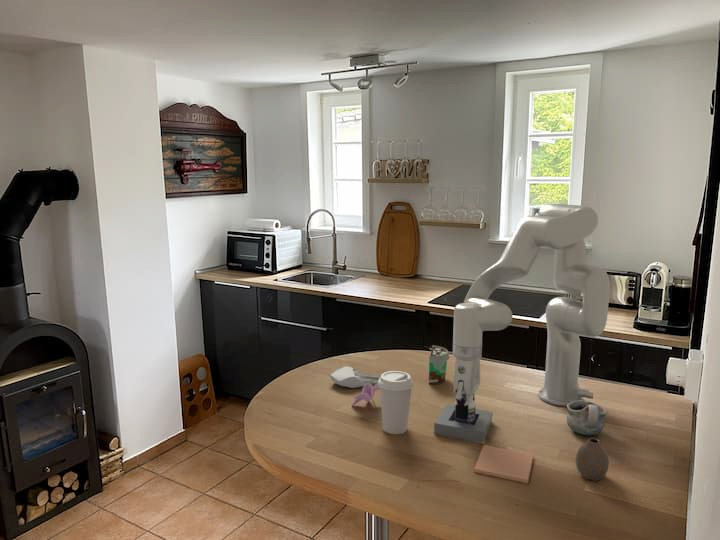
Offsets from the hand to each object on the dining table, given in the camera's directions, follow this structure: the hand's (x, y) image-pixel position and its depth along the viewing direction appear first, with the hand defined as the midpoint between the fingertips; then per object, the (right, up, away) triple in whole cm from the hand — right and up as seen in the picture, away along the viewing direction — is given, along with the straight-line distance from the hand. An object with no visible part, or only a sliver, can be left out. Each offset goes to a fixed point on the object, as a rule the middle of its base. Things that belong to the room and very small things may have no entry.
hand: (465, 413), depth 148 cm
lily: (-26, -2, +13) cm, 29 cm away
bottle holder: (0, -4, +1) cm, 4 cm away
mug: (+32, -5, -3) cm, 32 cm away
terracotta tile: (+6, -8, -18) cm, 20 cm away
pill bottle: (0, -4, +1) cm, 4 cm away
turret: (-28, +1, +31) cm, 42 cm away
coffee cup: (-19, -4, 0) cm, 20 cm away
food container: (-2, +2, +34) cm, 35 cm away
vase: (+25, -9, -22) cm, 34 cm away
